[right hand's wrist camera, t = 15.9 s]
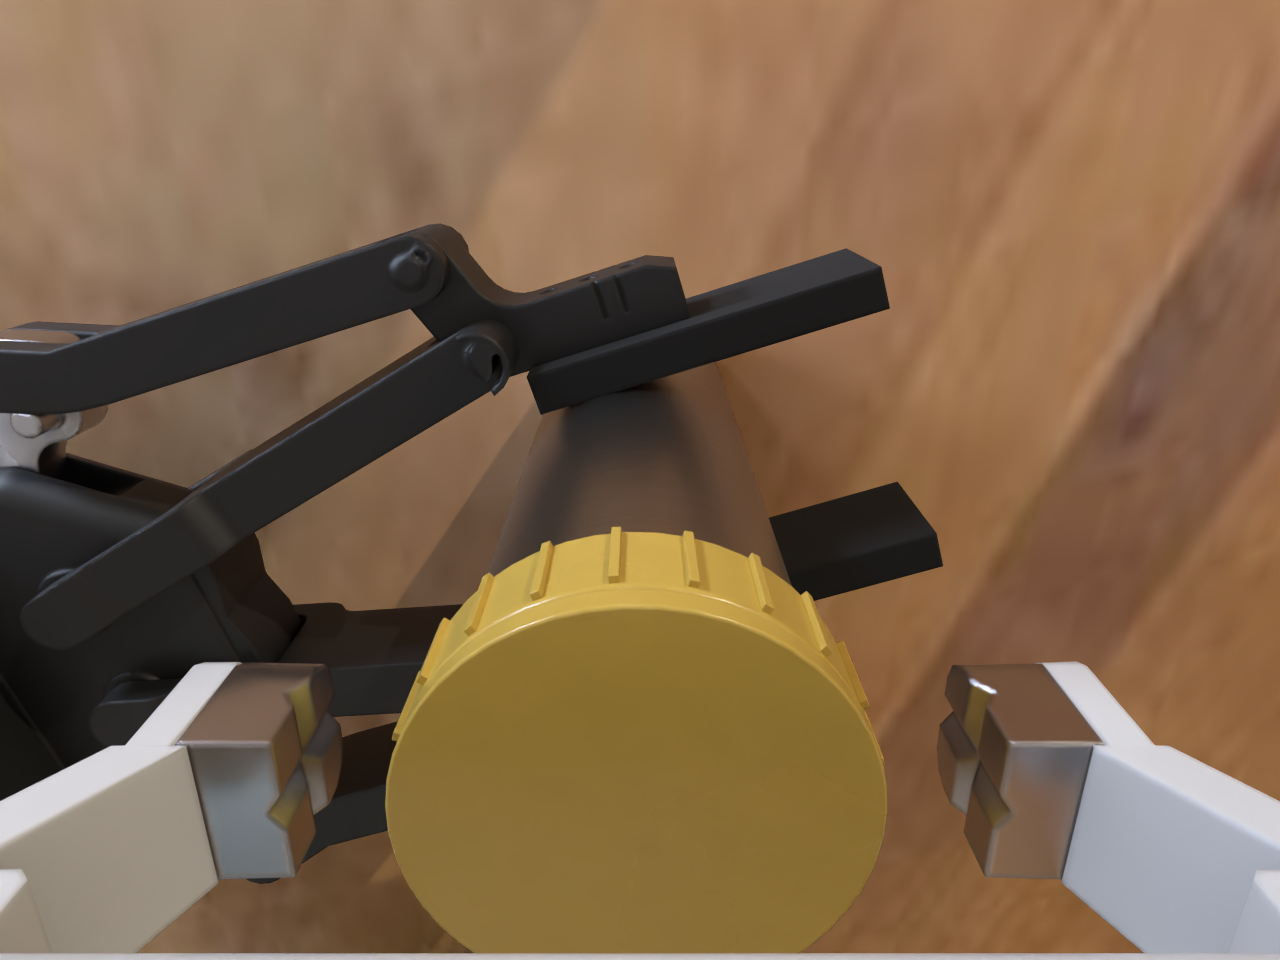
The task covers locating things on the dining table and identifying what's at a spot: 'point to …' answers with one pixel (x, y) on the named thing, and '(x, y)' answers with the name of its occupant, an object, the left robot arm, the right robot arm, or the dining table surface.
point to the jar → (641, 473)
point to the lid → (636, 758)
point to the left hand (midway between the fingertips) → (891, 405)
